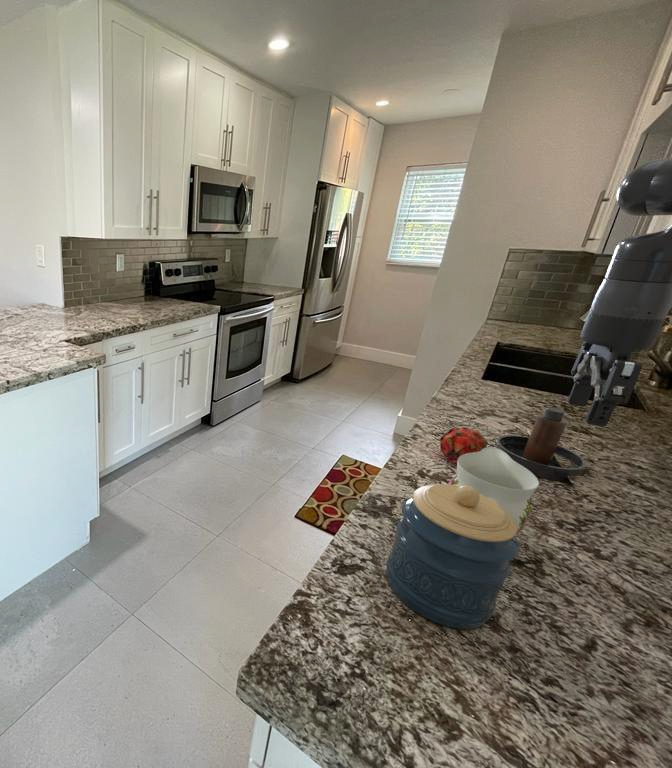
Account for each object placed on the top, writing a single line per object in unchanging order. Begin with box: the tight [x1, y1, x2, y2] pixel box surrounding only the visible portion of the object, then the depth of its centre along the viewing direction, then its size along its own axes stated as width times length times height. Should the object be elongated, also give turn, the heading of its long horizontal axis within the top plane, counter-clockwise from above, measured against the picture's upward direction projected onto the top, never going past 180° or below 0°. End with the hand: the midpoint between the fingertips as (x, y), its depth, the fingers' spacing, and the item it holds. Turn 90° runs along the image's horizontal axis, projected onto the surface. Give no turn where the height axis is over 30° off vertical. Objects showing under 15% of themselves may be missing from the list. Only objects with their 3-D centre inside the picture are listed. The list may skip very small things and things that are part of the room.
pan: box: [493, 434, 588, 482], centre depth 92 cm, size 15×15×4 cm
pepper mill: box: [522, 406, 568, 465], centre depth 90 cm, size 5×5×13 cm
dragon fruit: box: [438, 426, 489, 464], centre depth 92 cm, size 8×8×12 cm
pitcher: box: [447, 446, 540, 538], centre depth 67 cm, size 11×18×14 cm, turn 144°
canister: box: [386, 483, 520, 630], centre depth 56 cm, size 13×13×18 cm
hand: (584, 414), depth 65 cm, fingers open, 8 cm apart
